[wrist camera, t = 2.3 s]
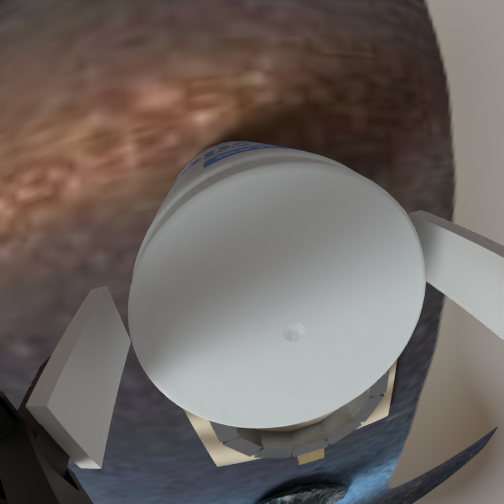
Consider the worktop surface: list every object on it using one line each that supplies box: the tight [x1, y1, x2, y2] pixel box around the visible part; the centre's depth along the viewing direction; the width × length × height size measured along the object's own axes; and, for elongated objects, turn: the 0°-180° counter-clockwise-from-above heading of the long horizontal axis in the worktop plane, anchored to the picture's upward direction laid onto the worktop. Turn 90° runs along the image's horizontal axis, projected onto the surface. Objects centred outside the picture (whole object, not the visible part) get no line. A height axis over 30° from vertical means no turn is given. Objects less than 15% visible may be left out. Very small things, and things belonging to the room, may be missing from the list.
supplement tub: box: [128, 141, 426, 428], centre depth 15 cm, size 10×10×15 cm
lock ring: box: [209, 368, 390, 465], centre depth 27 cm, size 22×17×2 cm
